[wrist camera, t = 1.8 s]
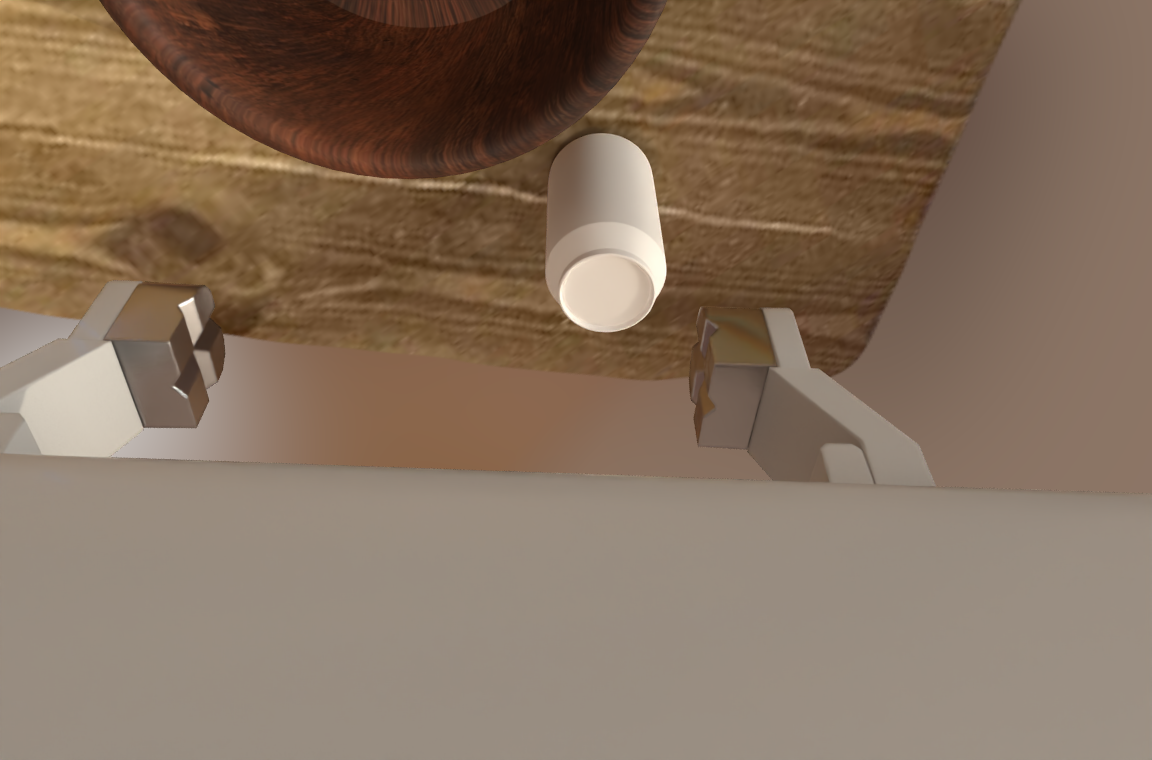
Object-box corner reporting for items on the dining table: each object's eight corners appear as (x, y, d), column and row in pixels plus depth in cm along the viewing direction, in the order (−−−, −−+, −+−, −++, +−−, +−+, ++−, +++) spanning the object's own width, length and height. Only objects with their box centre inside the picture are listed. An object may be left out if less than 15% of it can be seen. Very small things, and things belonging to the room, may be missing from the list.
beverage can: (538, 135, 51) (533, 252, 43) (645, 117, 51) (662, 233, 42) (558, 225, 56) (557, 349, 47) (657, 210, 55) (675, 333, 46)
